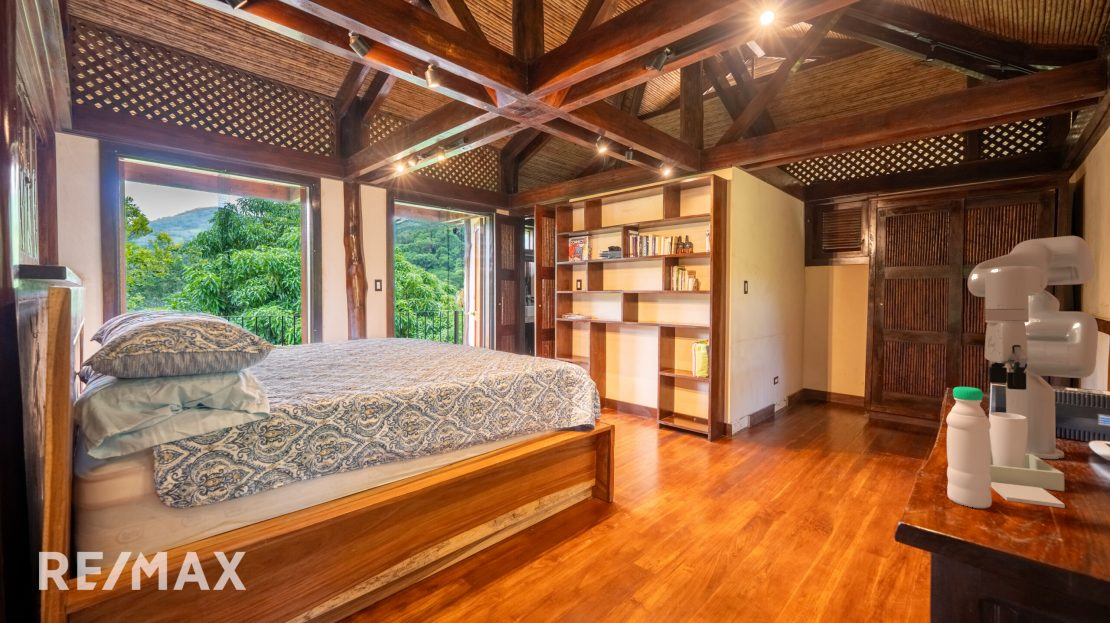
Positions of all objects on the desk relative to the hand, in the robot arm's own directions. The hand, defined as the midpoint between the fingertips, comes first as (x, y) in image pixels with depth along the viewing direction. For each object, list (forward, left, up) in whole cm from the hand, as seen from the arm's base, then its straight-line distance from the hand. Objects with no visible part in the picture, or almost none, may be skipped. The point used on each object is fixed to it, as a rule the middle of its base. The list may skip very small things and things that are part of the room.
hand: (1006, 385), depth 109 cm
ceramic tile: (+13, -2, -22) cm, 26 cm away
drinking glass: (0, 0, -23) cm, 23 cm away
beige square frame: (0, 0, -22) cm, 22 cm away
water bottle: (+22, -14, -23) cm, 34 cm away
